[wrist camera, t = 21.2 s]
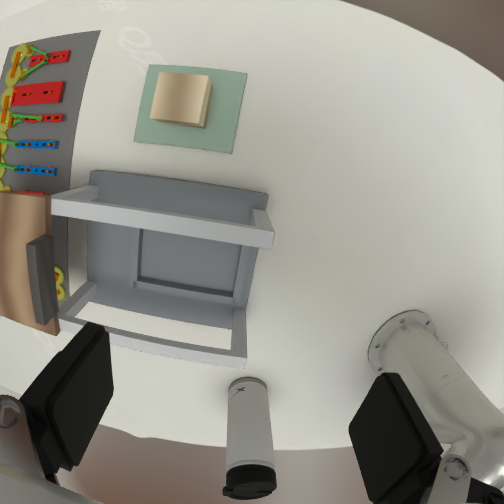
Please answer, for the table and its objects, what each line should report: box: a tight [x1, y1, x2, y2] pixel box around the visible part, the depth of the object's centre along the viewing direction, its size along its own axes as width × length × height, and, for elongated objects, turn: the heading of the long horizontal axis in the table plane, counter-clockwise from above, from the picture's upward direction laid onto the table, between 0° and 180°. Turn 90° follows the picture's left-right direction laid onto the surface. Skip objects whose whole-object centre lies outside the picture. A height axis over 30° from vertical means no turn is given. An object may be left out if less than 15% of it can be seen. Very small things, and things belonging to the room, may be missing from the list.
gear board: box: [0, 30, 101, 307], centre depth 32 cm, size 45×2×19 cm
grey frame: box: [50, 170, 275, 369], centre depth 31 cm, size 22×18×12 cm
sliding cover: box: [0, 190, 60, 336], centre depth 22 cm, size 15×15×4 cm
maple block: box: [150, 72, 214, 129], centre depth 28 cm, size 5×5×6 cm
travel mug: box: [222, 377, 277, 500], centre depth 36 cm, size 6×7×20 cm
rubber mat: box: [134, 65, 247, 154], centre depth 31 cm, size 12×10×1 cm
